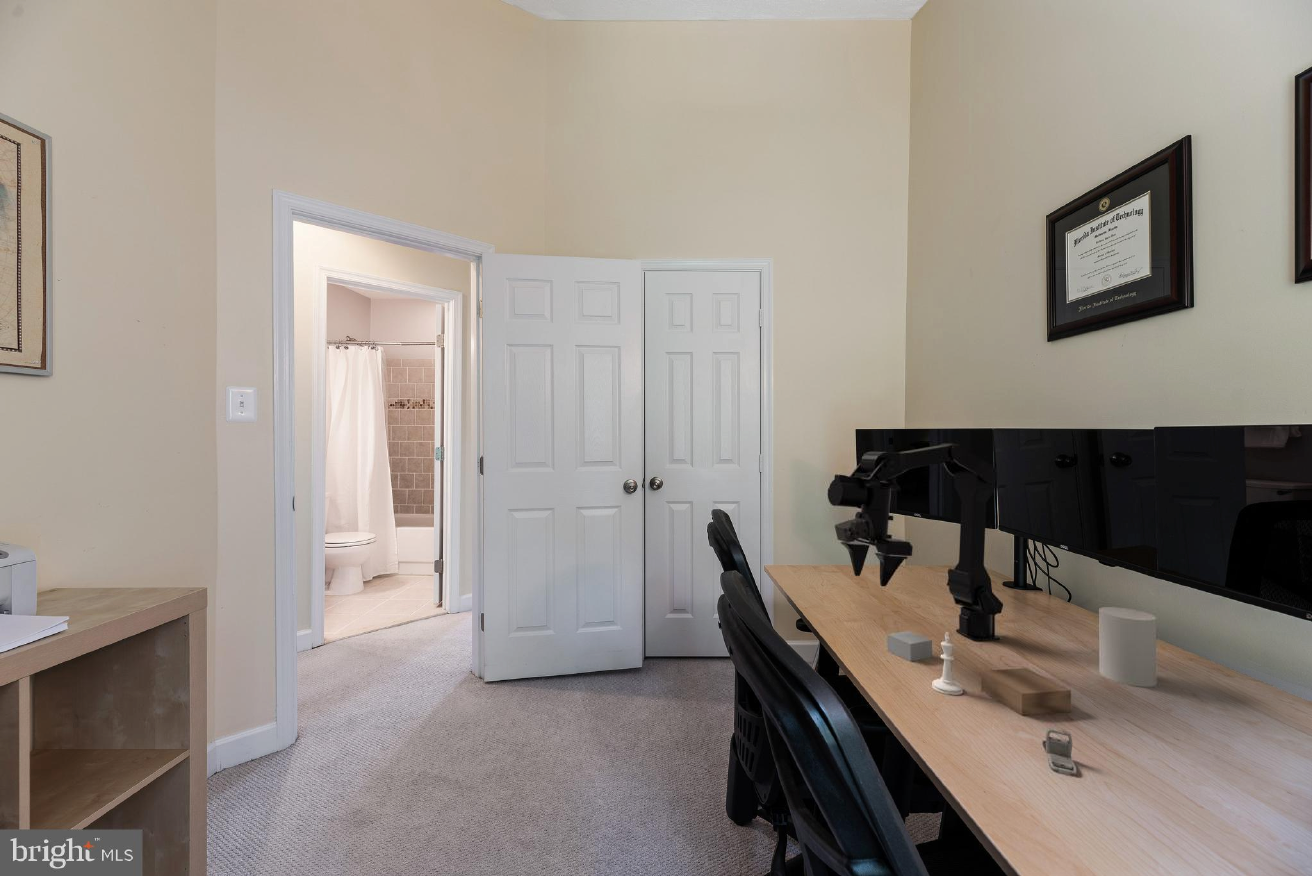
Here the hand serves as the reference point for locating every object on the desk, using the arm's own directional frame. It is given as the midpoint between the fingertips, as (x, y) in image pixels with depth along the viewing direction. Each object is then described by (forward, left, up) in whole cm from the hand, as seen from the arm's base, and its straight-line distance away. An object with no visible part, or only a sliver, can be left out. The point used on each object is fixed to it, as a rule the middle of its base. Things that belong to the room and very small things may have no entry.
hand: (869, 580), depth 119 cm
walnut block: (-13, +27, -14) cm, 33 cm away
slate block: (-6, +5, -14) cm, 16 cm away
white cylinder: (-40, +21, -14) cm, 47 cm away
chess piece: (-3, +21, -14) cm, 26 cm away
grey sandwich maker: (-4, +43, -15) cm, 46 cm away
